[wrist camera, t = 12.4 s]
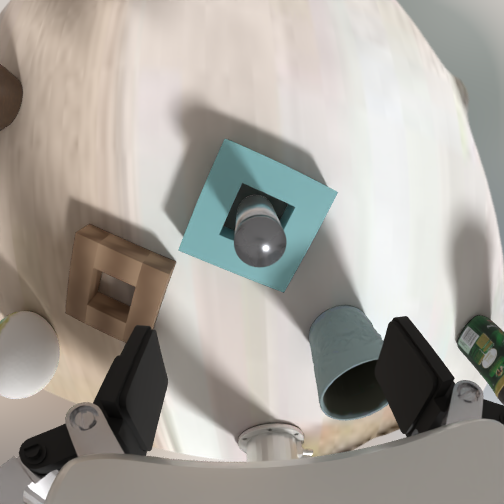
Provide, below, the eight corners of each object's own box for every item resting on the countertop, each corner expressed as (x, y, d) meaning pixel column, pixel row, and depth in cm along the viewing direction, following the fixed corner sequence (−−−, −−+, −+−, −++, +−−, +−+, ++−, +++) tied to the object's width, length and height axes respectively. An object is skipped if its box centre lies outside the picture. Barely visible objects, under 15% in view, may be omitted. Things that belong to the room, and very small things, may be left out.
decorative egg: (11, 290, 34) (-43, 340, 20) (65, 316, 36) (15, 381, 22) (21, 344, 38) (-19, 395, 24) (71, 369, 40) (37, 430, 26)
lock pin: (279, 204, 31) (295, 230, 22) (264, 236, 32) (272, 274, 23) (246, 188, 30) (247, 209, 21) (231, 221, 32) (225, 255, 22)
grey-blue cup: (343, 364, 40) (366, 424, 29) (287, 345, 38) (300, 413, 27) (384, 313, 37) (422, 369, 26) (329, 287, 35) (361, 347, 24)
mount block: (176, 261, 33) (169, 274, 30) (151, 334, 37) (144, 350, 34) (89, 223, 31) (75, 232, 28) (76, 300, 35) (65, 313, 32)
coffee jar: (494, 319, 39) (548, 374, 22) (473, 351, 42) (520, 411, 25) (473, 308, 38) (536, 372, 20) (449, 345, 40) (502, 414, 23)
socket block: (328, 186, 30) (337, 192, 27) (280, 278, 34) (283, 292, 31) (227, 139, 28) (224, 138, 25) (184, 239, 32) (178, 250, 29)
